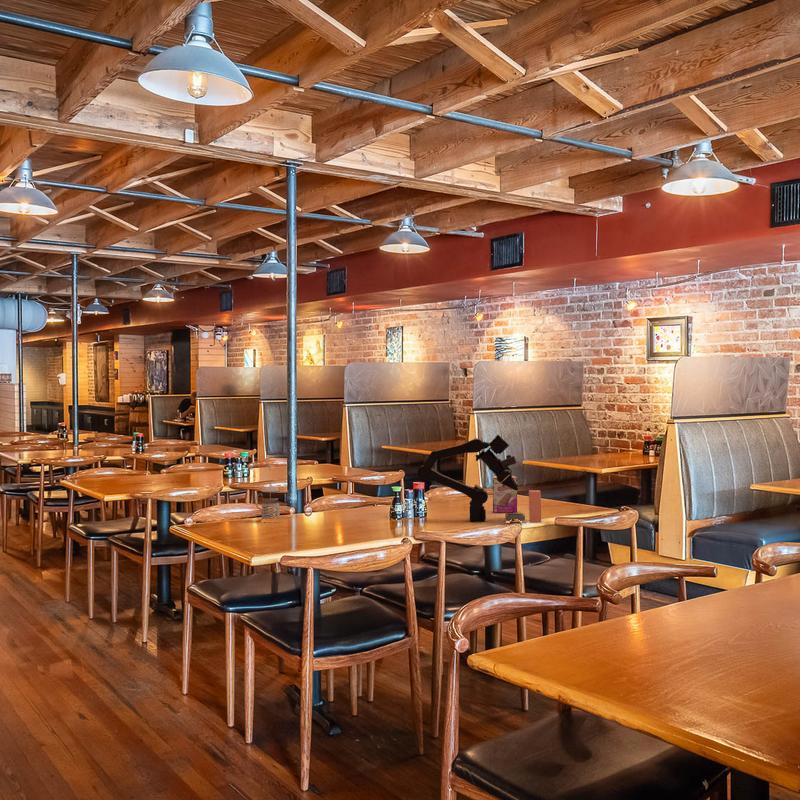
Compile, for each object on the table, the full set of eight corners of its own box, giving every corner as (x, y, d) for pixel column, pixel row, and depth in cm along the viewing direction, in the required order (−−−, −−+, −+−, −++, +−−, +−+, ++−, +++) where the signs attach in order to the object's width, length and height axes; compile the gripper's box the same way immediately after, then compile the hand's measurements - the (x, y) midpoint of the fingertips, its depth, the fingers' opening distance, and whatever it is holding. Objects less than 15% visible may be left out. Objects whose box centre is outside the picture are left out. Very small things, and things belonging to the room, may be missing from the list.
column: (530, 522, 351) (530, 491, 351) (529, 520, 356) (528, 490, 356) (541, 522, 351) (540, 491, 351) (540, 520, 356) (539, 490, 355)
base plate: (506, 523, 350) (505, 516, 350) (504, 520, 358) (504, 513, 358) (526, 523, 349) (526, 516, 349) (524, 520, 358) (524, 513, 358)
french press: (280, 522, 364) (279, 465, 364) (253, 523, 364) (252, 466, 364) (283, 519, 374) (282, 463, 373) (257, 519, 374) (256, 464, 373)
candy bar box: (492, 513, 380) (492, 477, 379) (492, 511, 384) (492, 476, 384) (517, 513, 378) (517, 477, 378) (517, 511, 383) (516, 475, 383)
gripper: (505, 450, 347) (531, 478, 346) (506, 447, 365) (530, 473, 364) (486, 468, 348) (512, 496, 347) (487, 464, 366) (512, 490, 365)
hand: (517, 488), depth 356 cm, fingers open, 9 cm apart
